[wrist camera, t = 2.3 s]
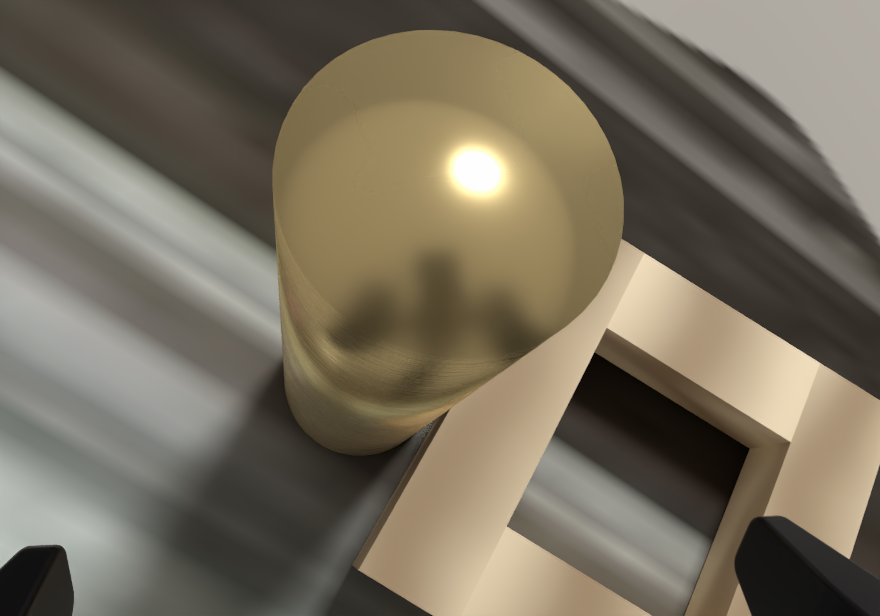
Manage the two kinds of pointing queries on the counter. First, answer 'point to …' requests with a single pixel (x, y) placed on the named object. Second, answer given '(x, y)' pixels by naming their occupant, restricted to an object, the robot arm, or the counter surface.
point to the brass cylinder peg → (431, 229)
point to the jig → (670, 373)
